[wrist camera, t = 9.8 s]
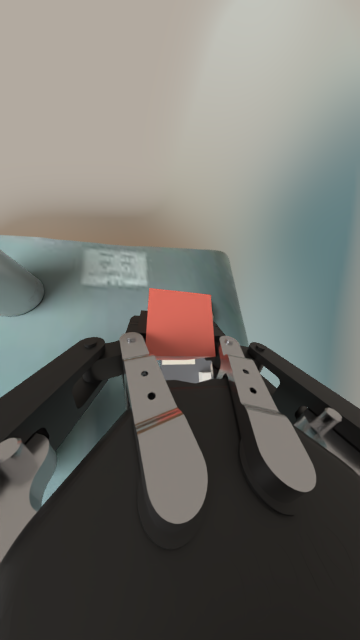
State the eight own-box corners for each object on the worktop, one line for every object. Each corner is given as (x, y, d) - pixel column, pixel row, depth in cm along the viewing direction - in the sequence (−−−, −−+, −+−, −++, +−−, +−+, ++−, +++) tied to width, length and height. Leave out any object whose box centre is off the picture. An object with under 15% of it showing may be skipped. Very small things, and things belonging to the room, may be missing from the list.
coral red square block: (146, 359, 15) (144, 356, 8) (148, 321, 16) (149, 288, 9) (185, 359, 16) (215, 356, 9) (185, 323, 17) (210, 294, 10)
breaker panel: (159, 406, 26) (161, 412, 23) (162, 300, 33) (163, 294, 30) (217, 401, 29) (225, 406, 26) (209, 304, 35) (214, 299, 32)
